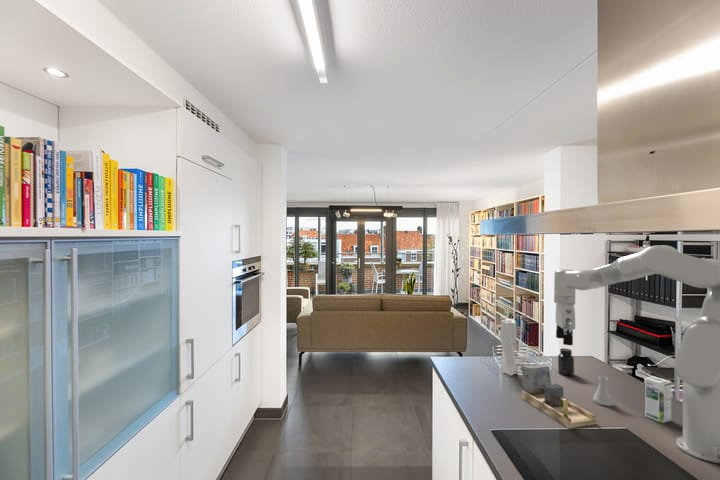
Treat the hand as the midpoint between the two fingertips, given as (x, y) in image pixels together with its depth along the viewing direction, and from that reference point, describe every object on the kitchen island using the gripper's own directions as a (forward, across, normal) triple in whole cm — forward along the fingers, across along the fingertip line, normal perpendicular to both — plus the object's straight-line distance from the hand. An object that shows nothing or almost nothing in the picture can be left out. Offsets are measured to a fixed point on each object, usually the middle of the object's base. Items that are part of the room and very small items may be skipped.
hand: (564, 341), depth 143 cm
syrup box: (+24, -6, -30) cm, 39 cm away
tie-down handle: (+23, -9, +6) cm, 25 cm away
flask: (+25, +3, -15) cm, 29 cm away
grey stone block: (+25, +10, +8) cm, 28 cm away
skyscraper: (+25, +27, +17) cm, 41 cm away
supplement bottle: (+25, +33, -10) cm, 43 cm away
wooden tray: (+24, -10, +5) cm, 27 cm away
